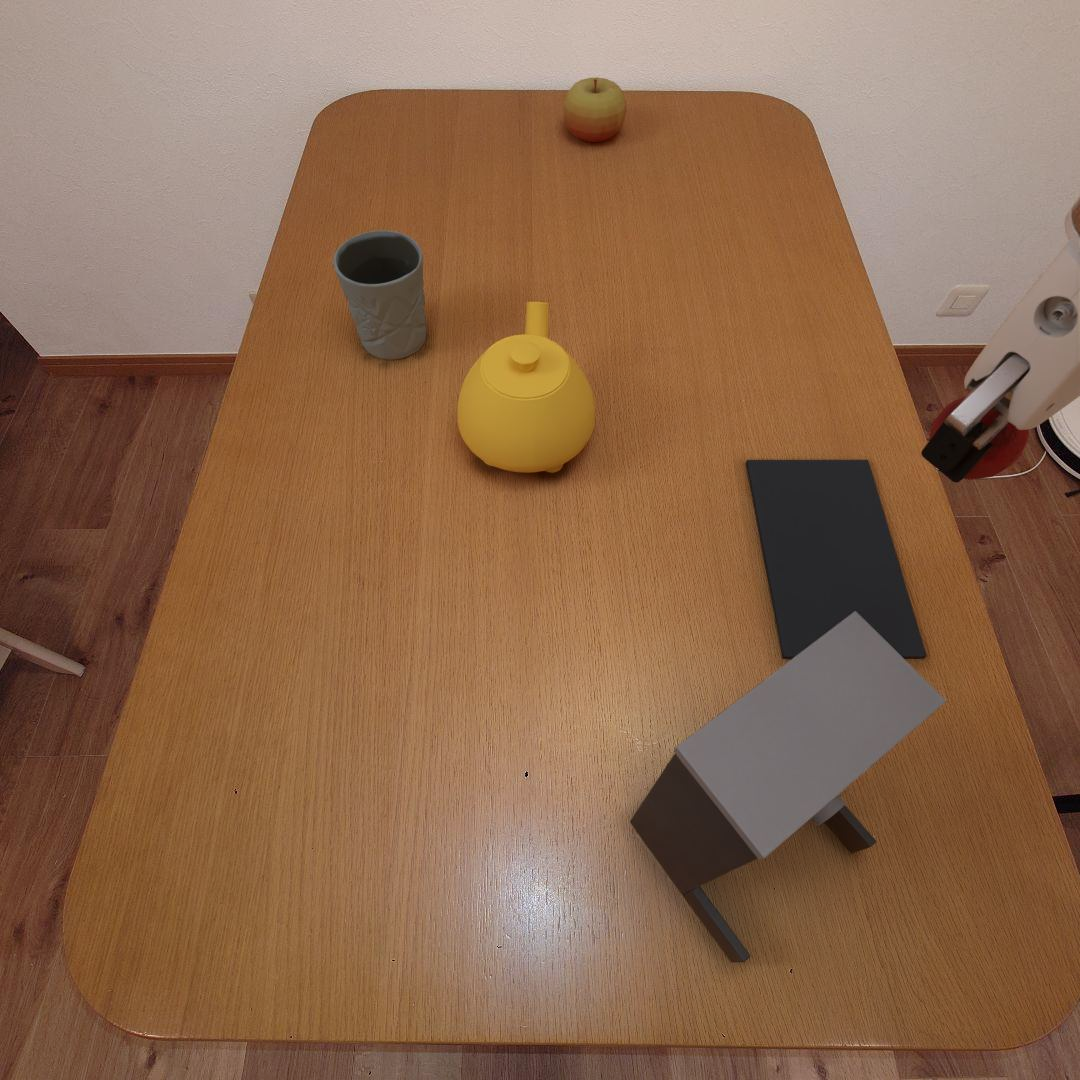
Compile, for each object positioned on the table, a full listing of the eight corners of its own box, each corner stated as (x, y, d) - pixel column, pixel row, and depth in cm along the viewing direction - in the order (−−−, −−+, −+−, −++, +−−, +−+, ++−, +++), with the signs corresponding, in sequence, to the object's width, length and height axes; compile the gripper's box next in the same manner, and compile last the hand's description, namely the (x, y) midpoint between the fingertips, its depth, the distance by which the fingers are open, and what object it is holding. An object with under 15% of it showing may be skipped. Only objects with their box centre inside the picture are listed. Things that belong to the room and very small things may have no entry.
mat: (924, 658, 70) (927, 656, 70) (782, 658, 70) (784, 656, 70) (866, 462, 83) (868, 459, 82) (745, 462, 82) (746, 459, 82)
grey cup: (342, 352, 91) (317, 274, 81) (376, 300, 96) (357, 221, 86) (415, 371, 89) (399, 294, 79) (446, 318, 94) (435, 238, 84)
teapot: (480, 355, 91) (471, 264, 79) (602, 368, 90) (611, 278, 78) (448, 483, 81) (433, 400, 69) (585, 498, 80) (594, 417, 68)
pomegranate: (990, 509, 51) (1061, 439, 44) (907, 488, 52) (964, 416, 45) (992, 448, 54) (1058, 373, 47) (913, 429, 55) (967, 352, 48)
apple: (595, 110, 120) (598, 58, 113) (635, 135, 116) (642, 83, 109) (550, 131, 117) (551, 79, 110) (590, 158, 113) (594, 106, 106)
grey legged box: (859, 847, 61) (1033, 785, 40) (730, 964, 57) (848, 964, 36) (752, 724, 67) (855, 610, 45) (627, 821, 62) (675, 746, 41)
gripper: (1134, 332, 31) (933, 543, 46) (1329, 193, 36) (1090, 425, 52) (989, 240, 34) (847, 466, 50) (1188, 124, 39) (1002, 362, 55)
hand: (972, 443), depth 50 cm, fingers closed on pomegranate, 5 cm apart
